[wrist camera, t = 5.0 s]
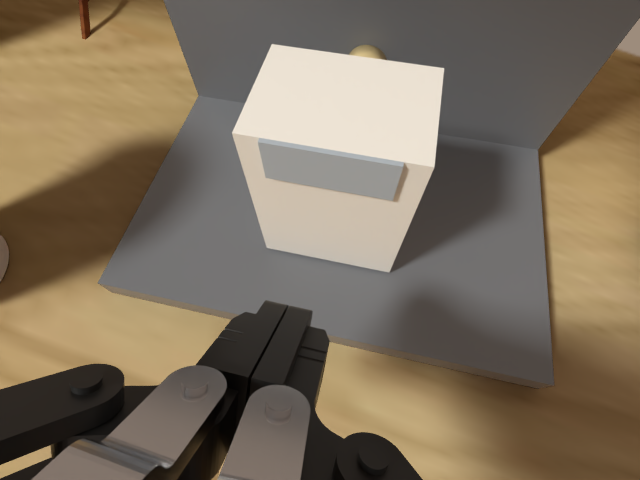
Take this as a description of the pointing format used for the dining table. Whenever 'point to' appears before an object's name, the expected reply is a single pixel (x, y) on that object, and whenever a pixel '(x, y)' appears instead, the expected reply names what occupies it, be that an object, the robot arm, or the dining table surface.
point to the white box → (338, 152)
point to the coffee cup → (3, 257)
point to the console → (436, 202)
